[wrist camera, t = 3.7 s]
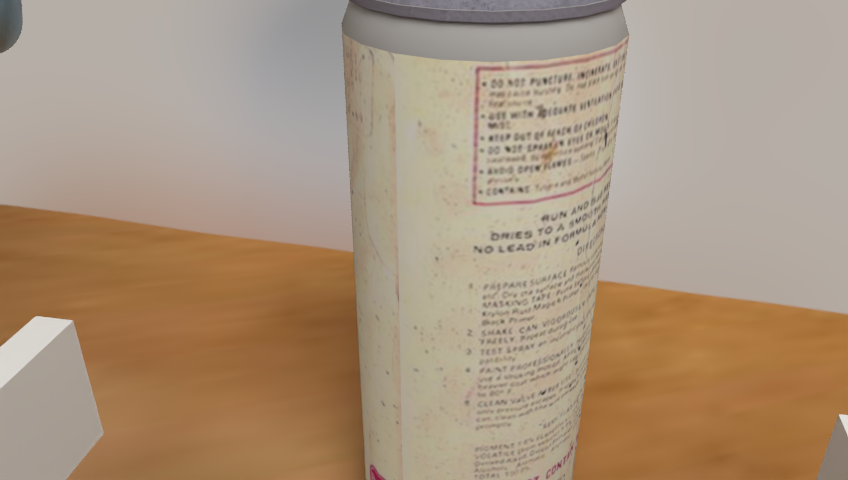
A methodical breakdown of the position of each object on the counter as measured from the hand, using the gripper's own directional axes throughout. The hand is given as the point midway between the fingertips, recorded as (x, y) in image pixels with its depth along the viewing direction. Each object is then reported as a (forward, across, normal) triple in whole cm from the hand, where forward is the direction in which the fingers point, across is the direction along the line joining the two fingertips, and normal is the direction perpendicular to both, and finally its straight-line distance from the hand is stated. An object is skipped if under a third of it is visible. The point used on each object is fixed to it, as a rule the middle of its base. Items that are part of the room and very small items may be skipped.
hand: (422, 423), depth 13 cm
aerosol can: (+8, 0, -11) cm, 14 cm away
